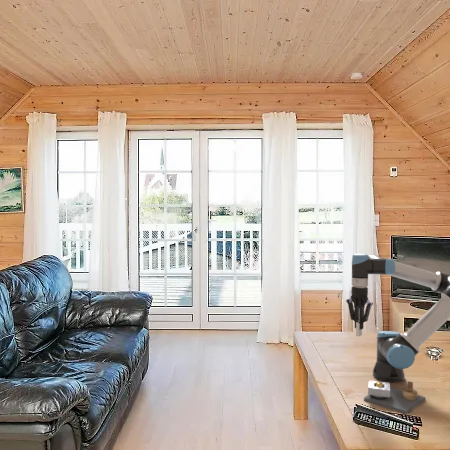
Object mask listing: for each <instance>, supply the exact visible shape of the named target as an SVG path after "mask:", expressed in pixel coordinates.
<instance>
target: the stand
mask: <svg viewBox="0 0 450 450" xmlns="http://www.w3.org/2000/svg"><path fill="white" fill-rule="evenodd" d="M413 384H414V383H413V381H407V386H406V387H407V388H403V389H402V390H403V398H404V399H405V400H409V401H416V400H417V395H418V391H417V390H415V389H414V387H413V386H414V385H413Z"/></svg>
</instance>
